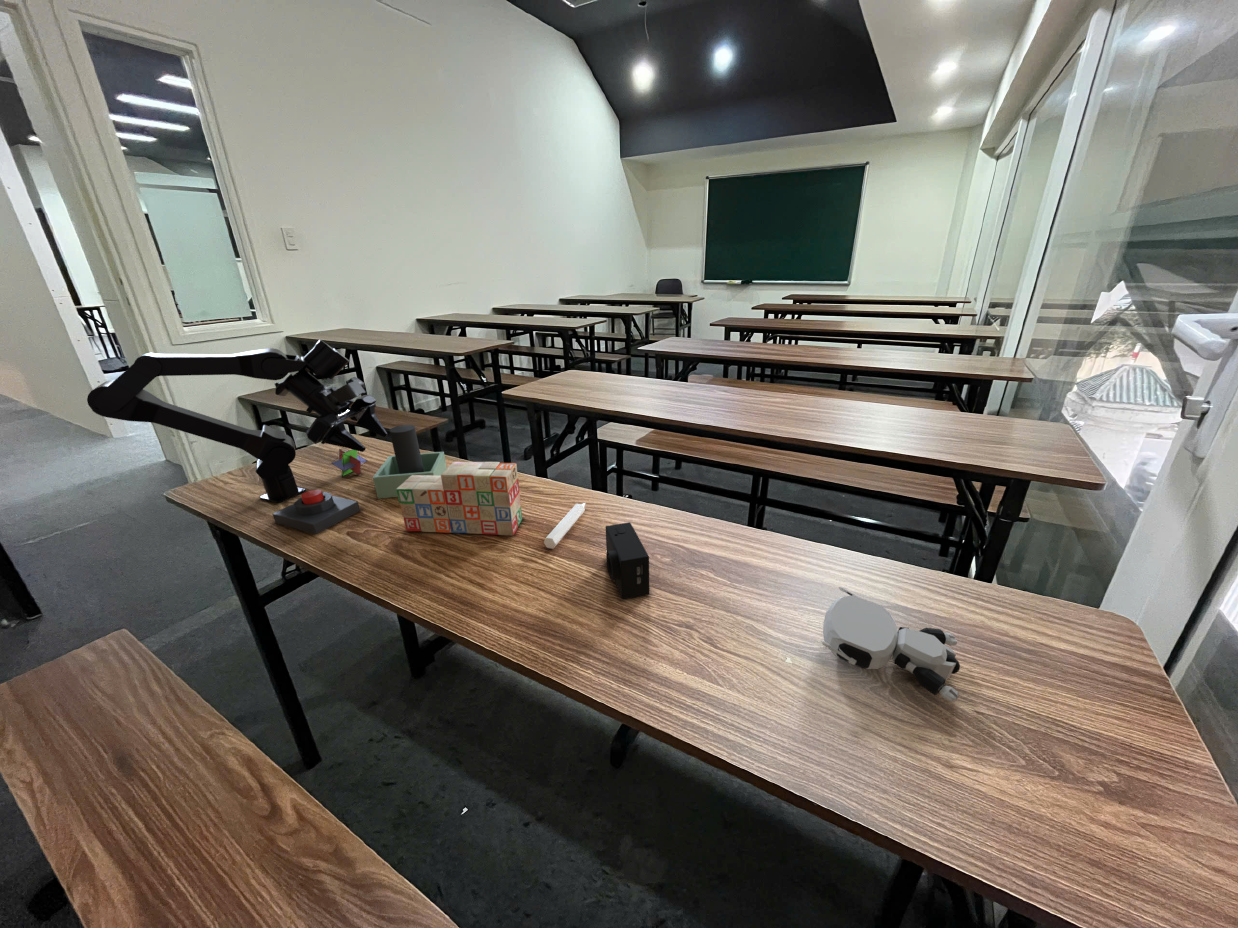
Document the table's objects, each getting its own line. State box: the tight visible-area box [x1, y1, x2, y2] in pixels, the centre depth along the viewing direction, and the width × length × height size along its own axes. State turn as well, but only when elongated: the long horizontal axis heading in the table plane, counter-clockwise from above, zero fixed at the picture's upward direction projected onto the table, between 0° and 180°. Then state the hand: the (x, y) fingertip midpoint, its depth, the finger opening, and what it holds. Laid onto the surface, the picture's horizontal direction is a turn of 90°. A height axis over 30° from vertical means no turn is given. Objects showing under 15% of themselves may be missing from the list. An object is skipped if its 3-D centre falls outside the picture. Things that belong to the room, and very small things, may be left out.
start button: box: [300, 489, 324, 505], centre depth 96 cm, size 4×4×2 cm
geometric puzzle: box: [330, 447, 369, 477], centre depth 116 cm, size 7×7×8 cm
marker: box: [543, 502, 586, 550], centre depth 91 cm, size 3×2×16 cm
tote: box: [372, 451, 448, 499], centre depth 110 cm, size 13×13×5 cm
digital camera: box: [604, 522, 650, 600], centre depth 75 cm, size 10×5×7 cm, turn 14°
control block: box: [272, 491, 361, 535], centre depth 97 cm, size 12×10×4 cm
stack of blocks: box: [396, 461, 523, 536], centre depth 91 cm, size 21×6×12 cm, turn 84°
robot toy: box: [821, 586, 961, 703], centre depth 60 cm, size 12×4×15 cm
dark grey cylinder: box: [388, 424, 424, 474], centre depth 108 cm, size 5×5×13 cm
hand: (375, 442), depth 107 cm, fingers open, 9 cm apart
